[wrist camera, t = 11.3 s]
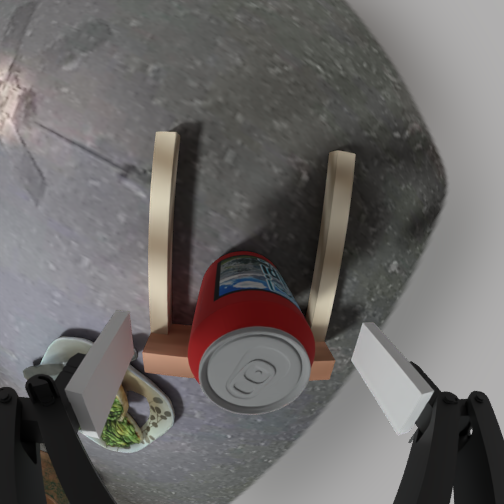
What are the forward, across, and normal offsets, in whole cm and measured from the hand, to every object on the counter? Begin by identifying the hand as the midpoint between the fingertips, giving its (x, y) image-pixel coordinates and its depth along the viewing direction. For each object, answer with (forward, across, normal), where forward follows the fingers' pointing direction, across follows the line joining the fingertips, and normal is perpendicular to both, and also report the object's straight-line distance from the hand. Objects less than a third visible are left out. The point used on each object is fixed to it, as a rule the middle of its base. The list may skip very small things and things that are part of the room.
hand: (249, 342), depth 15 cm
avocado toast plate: (+10, -16, -17) cm, 25 cm away
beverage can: (+10, 0, -1) cm, 10 cm away
